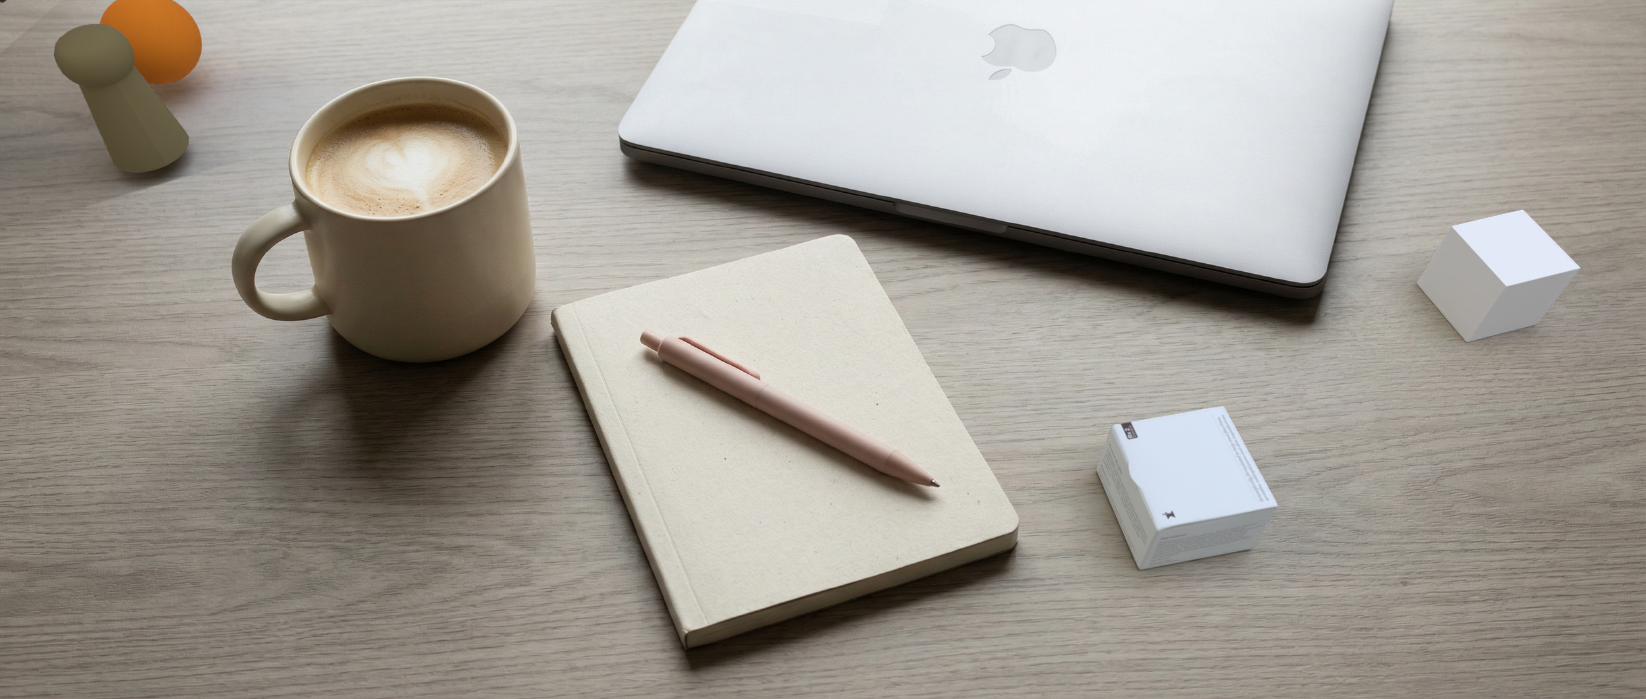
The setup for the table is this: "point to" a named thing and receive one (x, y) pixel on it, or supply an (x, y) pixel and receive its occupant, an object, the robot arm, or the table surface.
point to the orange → (157, 37)
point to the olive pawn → (120, 99)
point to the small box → (1184, 487)
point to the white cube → (1496, 275)
